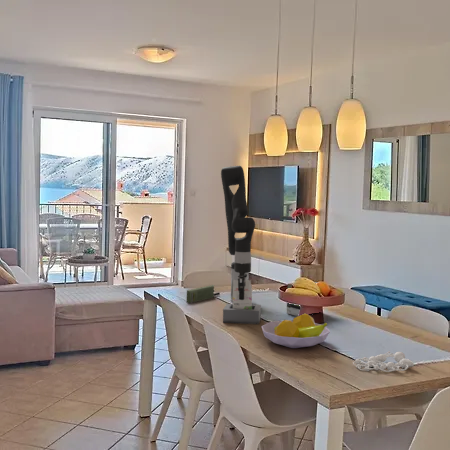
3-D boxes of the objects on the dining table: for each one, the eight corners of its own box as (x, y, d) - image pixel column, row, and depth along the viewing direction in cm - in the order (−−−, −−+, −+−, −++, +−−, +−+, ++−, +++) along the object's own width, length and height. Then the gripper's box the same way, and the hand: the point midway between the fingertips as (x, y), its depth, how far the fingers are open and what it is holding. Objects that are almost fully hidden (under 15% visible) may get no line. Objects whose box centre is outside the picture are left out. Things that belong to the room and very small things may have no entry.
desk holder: (226, 316, 263) (226, 303, 263) (260, 317, 261) (260, 305, 260) (222, 322, 251) (223, 309, 251) (258, 324, 249) (258, 311, 249)
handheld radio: (185, 302, 292) (216, 295, 312) (189, 303, 290) (221, 296, 310) (185, 290, 292) (217, 283, 311) (190, 291, 290) (221, 284, 309)
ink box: (251, 310, 258) (252, 278, 257) (251, 312, 253) (251, 280, 252) (233, 309, 259) (233, 277, 258) (232, 312, 254) (232, 279, 253)
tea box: (301, 317, 262) (302, 286, 261) (285, 313, 270) (286, 283, 269) (322, 312, 272) (323, 282, 271) (306, 309, 280) (307, 279, 279)
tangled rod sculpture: (361, 379, 186) (361, 367, 185) (348, 361, 200) (348, 350, 199) (418, 376, 187) (418, 364, 186) (401, 359, 201) (401, 348, 201)
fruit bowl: (250, 337, 228) (250, 310, 227) (308, 331, 238) (309, 305, 237) (282, 358, 202) (282, 327, 201) (346, 350, 212) (347, 321, 211)
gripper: (236, 258, 262) (236, 294, 263) (232, 263, 247) (232, 301, 249) (252, 259, 261) (252, 295, 262) (249, 263, 246) (248, 302, 248)
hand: (242, 298), depth 255 cm, fingers closed on ink box, 5 cm apart
